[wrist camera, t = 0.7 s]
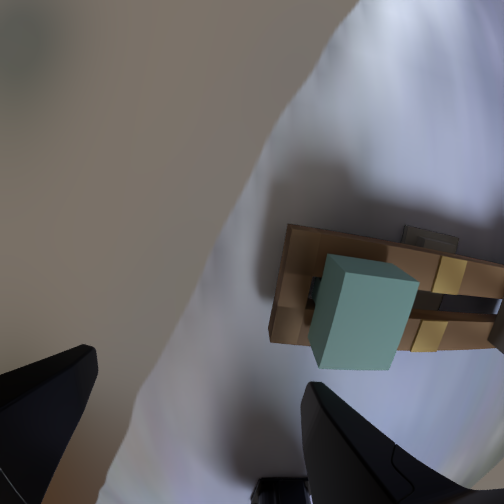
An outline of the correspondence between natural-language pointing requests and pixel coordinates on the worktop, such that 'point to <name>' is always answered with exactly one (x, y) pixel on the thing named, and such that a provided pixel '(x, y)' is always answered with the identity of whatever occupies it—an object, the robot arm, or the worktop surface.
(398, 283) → the block
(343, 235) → the brown long slotted block
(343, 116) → the worktop surface
